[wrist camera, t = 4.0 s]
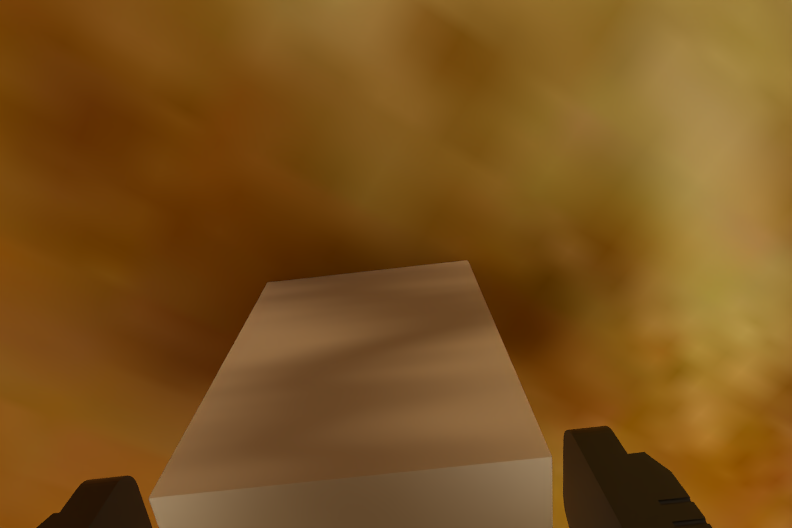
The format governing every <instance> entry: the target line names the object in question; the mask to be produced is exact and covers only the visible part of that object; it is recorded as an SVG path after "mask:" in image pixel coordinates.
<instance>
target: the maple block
mask: <svg viewBox="0 0 792 528" xmlns="http://www.w3.org/2000/svg"><path fill="white" fill-rule="evenodd" d="M149 501H150V504H151V506H152V509H153V512H154V515H155V518H156V520H157V523H158V526H159V528H553V525H552V456H551V453H550V451H549V449H548V446H547V444H546V442H545V439H544V437H543V435H542V432H541V430H540V428H539V425H538V423H537V421H536V418H535V416H534V414H533V411H532V409H531V407H530V404H529V402H528V400H527V397H526V395H525V393H524V390H523V388H522V386H521V383H520V381H519V379H518V376H517V374H516V372H515V369H514V367H513V365H512V362H511V360H510V358H509V355H508V353H507V351H506V348H505V346H504V344H503V341H502V339H501V337H500V334H499V332H498V330H497V327H496V325H495V323H494V320H493V318H492V316H491V313H490V311H489V309H488V306H487V304H486V302H485V299H484V297H483V295H482V292H481V290H480V288H479V285H478V283H477V281H476V278H475V276H474V274H473V271H472V269H471V267H470V264H469V262H468V260H464V261H455V262H446V263H437V264H428V265H419V266H410V267H401V268H392V269H383V270H374V271H365V272H356V273H347V274H338V275H329V276H320V277H311V278H302V279H293V280H284V281H276V282H267V284H266V286H265V288H264V290H263V291H262V293H261V295H260V297H259V299H258V301H257V302H256V304H255V306H254V308H253V310H252V311H251V313H250V315H249V317H248V319H247V320H246V322H245V324H244V326H243V328H242V330H241V331H240V333H239V335H238V337H237V339H236V340H235V342H234V344H233V346H232V348H231V350H230V351H229V353H228V355H227V357H226V359H225V360H224V362H223V364H222V366H221V368H220V369H219V371H218V373H217V375H216V377H215V379H214V380H213V382H212V384H211V386H210V388H209V389H208V391H207V393H206V395H205V397H204V399H203V400H202V402H201V404H200V406H199V408H198V409H197V411H196V413H195V415H194V417H193V419H192V420H191V422H190V424H189V426H188V428H187V429H186V431H185V433H184V435H183V437H182V438H181V440H180V442H179V444H178V446H177V448H176V449H175V451H174V453H173V455H172V457H171V458H170V460H169V462H168V464H167V466H166V468H165V469H164V471H163V473H162V475H161V477H160V478H159V480H158V482H157V484H156V486H155V487H154V489H153V491H152V493H151V495H150V497H149Z"/></svg>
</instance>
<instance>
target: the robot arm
mask: <svg viewBox="0 0 792 528" xmlns="http://www.w3.org/2000/svg"><path fill="white" fill-rule="evenodd" d="M563 498H564V507H565V512H566V517H567V521H568V524H569V527H570V528H712V527H711V525H710V524H707V523H706V520H705V517H704V516H703V514H702V513H701V512H700V510H699V509H698V508H697V506H696V505H695V503H694V502H691V501H690V497H689V495H688V494H687V493H686V491H685V490H684V489H683V487H682V486H681V484H680V483H679V482H678V480H677V479H676V478H675V476H674V475H673V474H672V472H671V471H669V470H668V469H667V468H665V467H664V466H662V465H661V464H660V463H658V462H657V461H656V460H654V459H653V458H651V457H650V456H649V455H647V454H646V453H645V452H641V453H632V454H627V452H626V451H625V449H624V448H623V446H622V445H621V443H620V442H619V440H618V439H617V437H616V436H615V434H614V433H613V431H612V430H611V429H610V428H609V427H608V426H601V427H591V428H582V429H573V430H566V431H565V433H564V446H563ZM37 528H152V526H151V523H150V520H149V517H148V514H147V511H146V508H145V506H144V503H143V500H142V497H141V494H140V491H139V488H138V485H137V483H136V481H135V480H134V478H133V477H131V476H120V477H111V478H101V479H92V480H86V481H85V482H83V483H82V484H81V485H80V486H79V487H78V488H77V490H76V491H75V492H74V494H73V495H72V496H71V498H70V499H69V501H68V502H67V503H66V505H65V506H64V507H63V509H62V510H61V512H60V513H54V514H52V515H51V516H50V517H49V518H47V519H46V520H45V521H44V522H43V523H41V524H40V525H39V526H38V527H37Z"/></svg>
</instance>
